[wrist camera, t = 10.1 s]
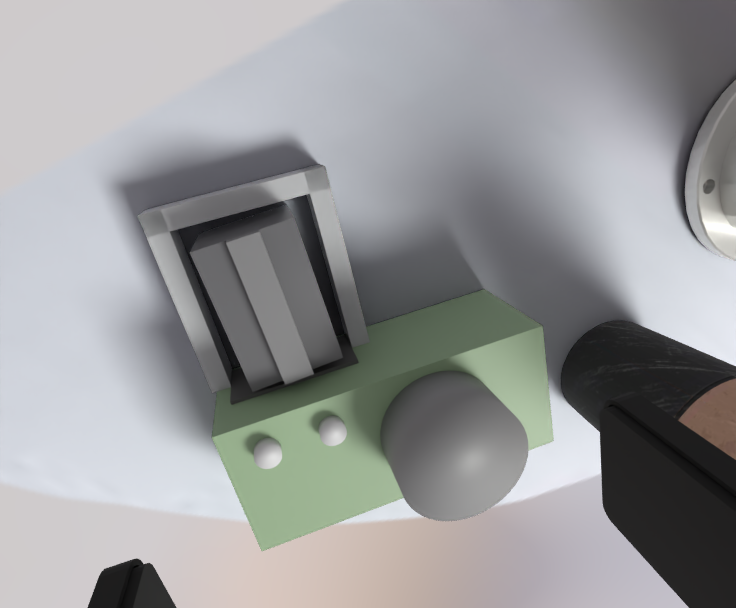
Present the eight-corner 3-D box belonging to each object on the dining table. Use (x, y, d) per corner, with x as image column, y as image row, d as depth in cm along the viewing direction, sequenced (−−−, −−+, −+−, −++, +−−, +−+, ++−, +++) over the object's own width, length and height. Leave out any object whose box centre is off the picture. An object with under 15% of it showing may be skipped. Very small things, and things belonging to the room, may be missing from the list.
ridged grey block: (286, 204, 24) (295, 219, 19) (328, 323, 26) (345, 362, 22) (199, 232, 23) (188, 255, 19) (251, 351, 26) (252, 397, 21)
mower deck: (461, 126, 25) (570, 121, 16) (498, 386, 31) (591, 478, 22) (146, 209, 22) (87, 251, 14) (254, 472, 28) (258, 609, 20)
